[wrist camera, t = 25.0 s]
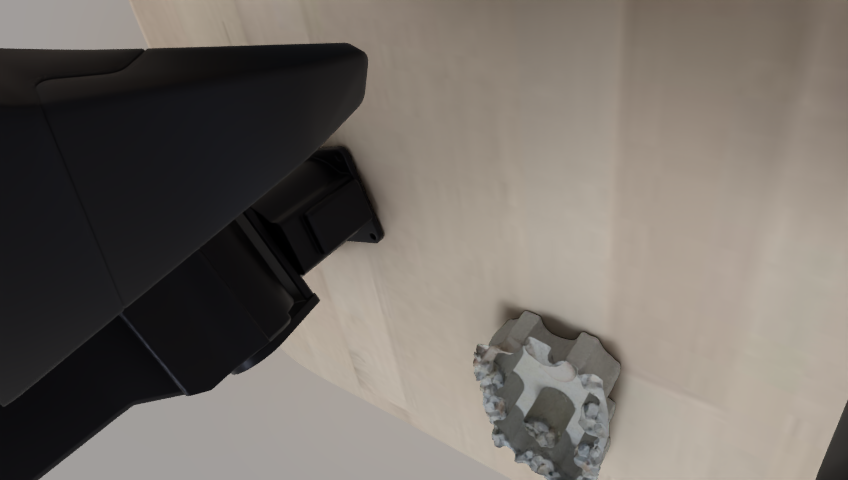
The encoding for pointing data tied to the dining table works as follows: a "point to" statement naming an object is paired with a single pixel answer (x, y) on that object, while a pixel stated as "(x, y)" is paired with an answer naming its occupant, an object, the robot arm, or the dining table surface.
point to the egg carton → (548, 397)
